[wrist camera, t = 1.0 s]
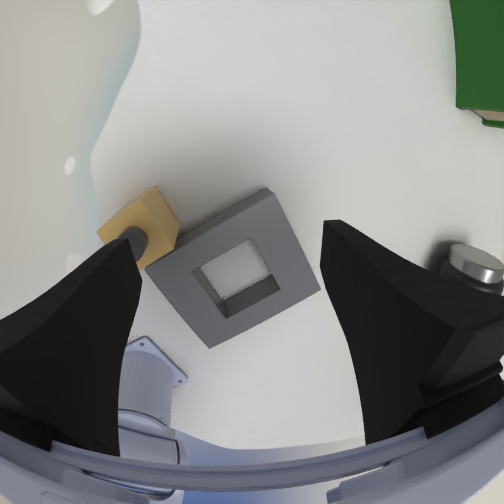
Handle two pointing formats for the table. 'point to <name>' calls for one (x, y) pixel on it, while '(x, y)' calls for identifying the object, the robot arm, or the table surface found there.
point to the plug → (144, 227)
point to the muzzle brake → (473, 268)
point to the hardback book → (480, 58)
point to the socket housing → (220, 241)
